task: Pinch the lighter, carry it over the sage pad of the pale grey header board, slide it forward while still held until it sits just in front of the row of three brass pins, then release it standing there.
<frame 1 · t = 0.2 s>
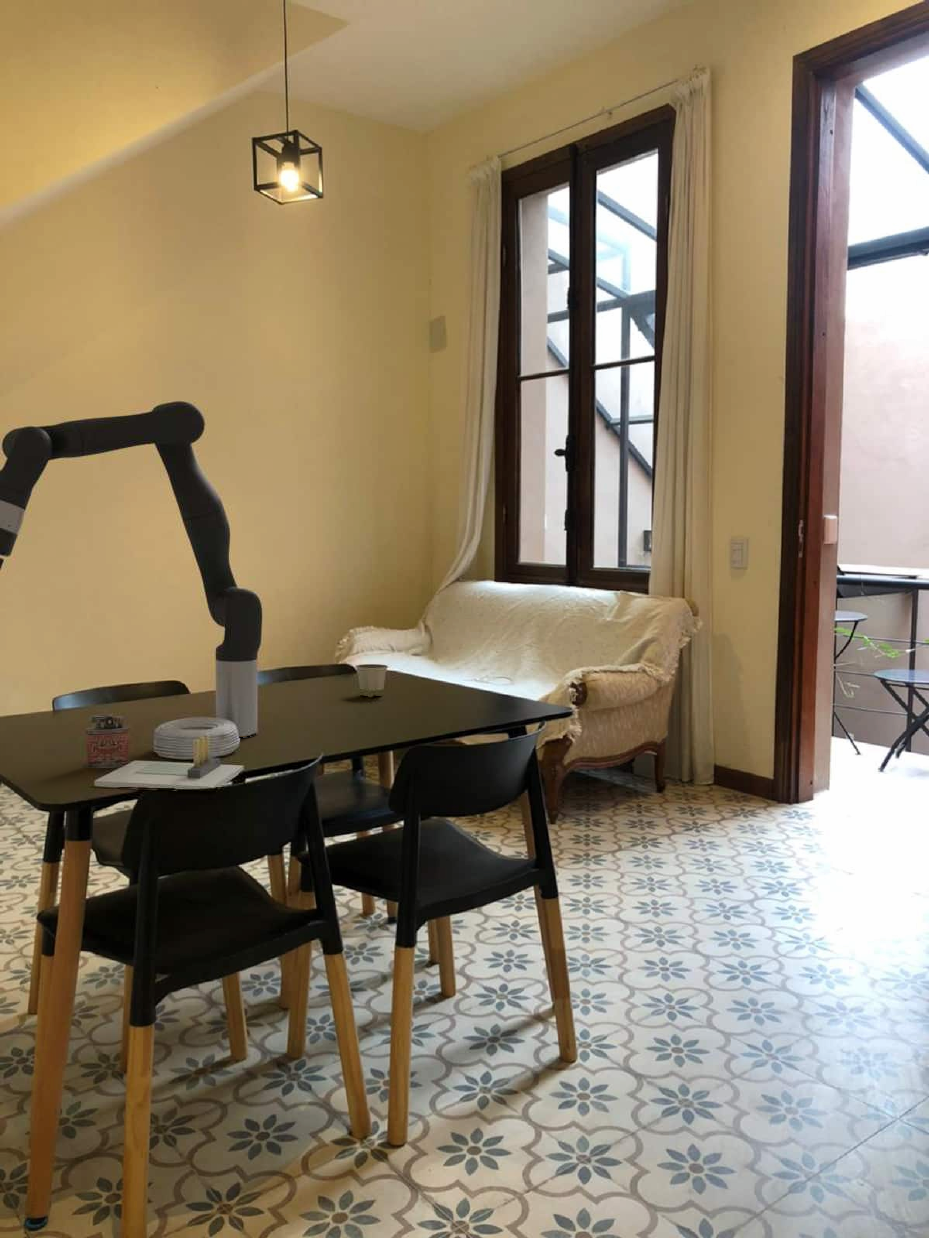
cable: (197, 753, 203), on the table
header board: (171, 778, 181), on the table
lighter: (108, 766, 189), on the table
flower pot: (371, 696, 276), on the table
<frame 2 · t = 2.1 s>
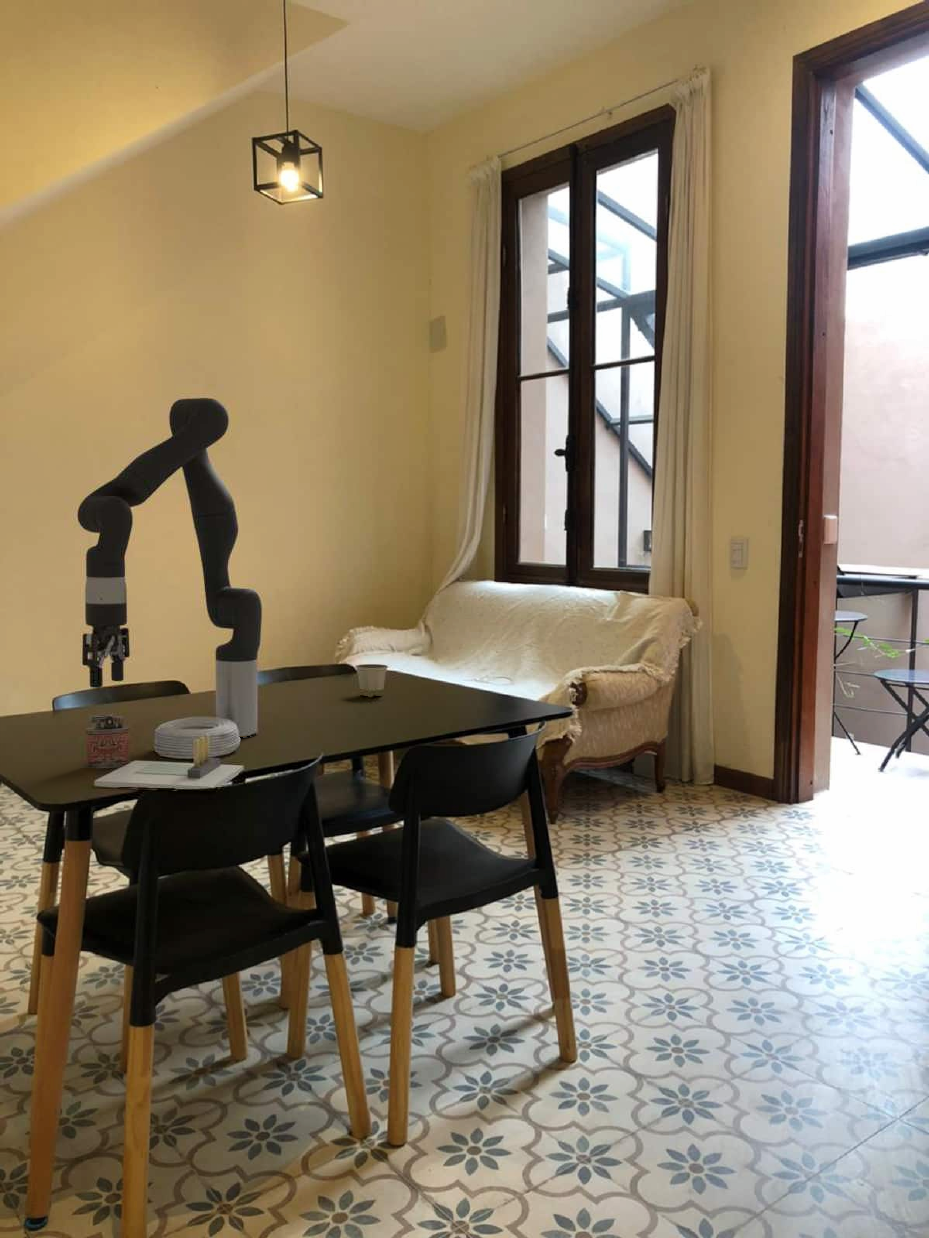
hand: (107, 684, 188), 16 cm above the table, tool pointing down, fingers open, 8 cm apart
nothing on the table moved.
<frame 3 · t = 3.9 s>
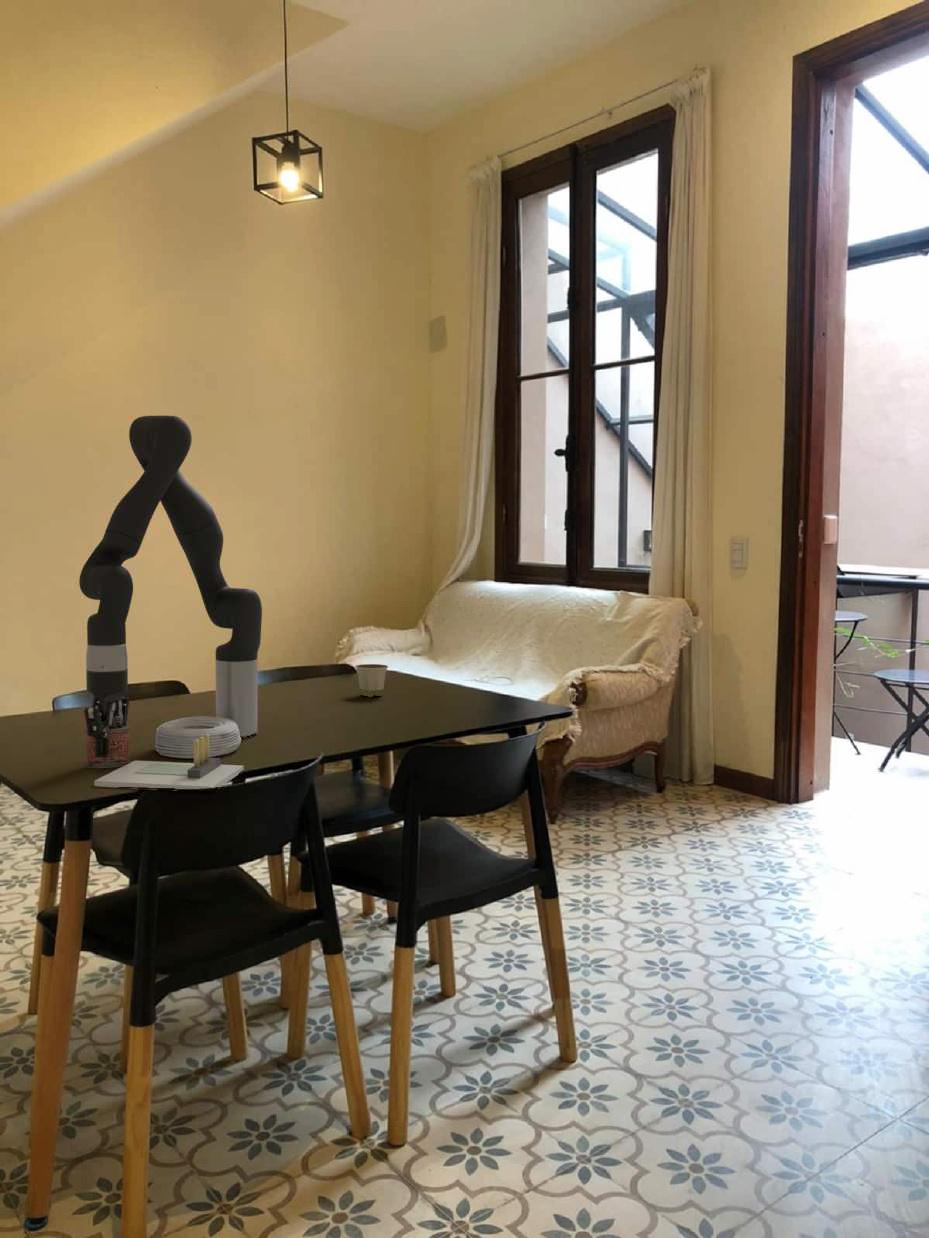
hand: (108, 753, 189), 2 cm above the table, tool pointing down, fingers closed on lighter, 4 cm apart
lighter: (108, 766, 189), on the table, touching gripper
everything else where it was.
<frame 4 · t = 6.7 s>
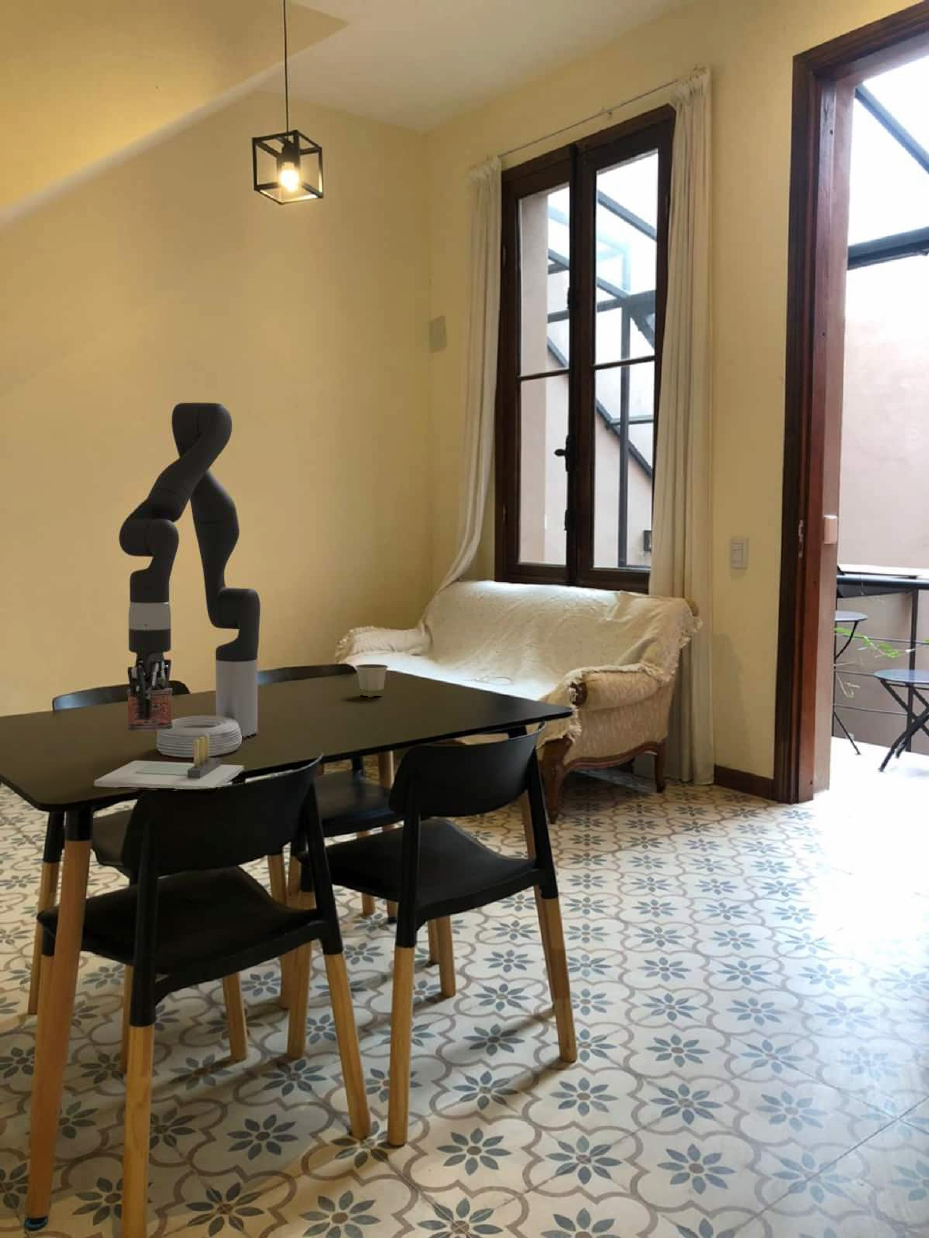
hand: (150, 716, 182), 11 cm above the table, tool pointing down, fingers closed on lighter, 4 cm apart
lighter: (150, 729, 182), point 9 cm above the table, touching gripper
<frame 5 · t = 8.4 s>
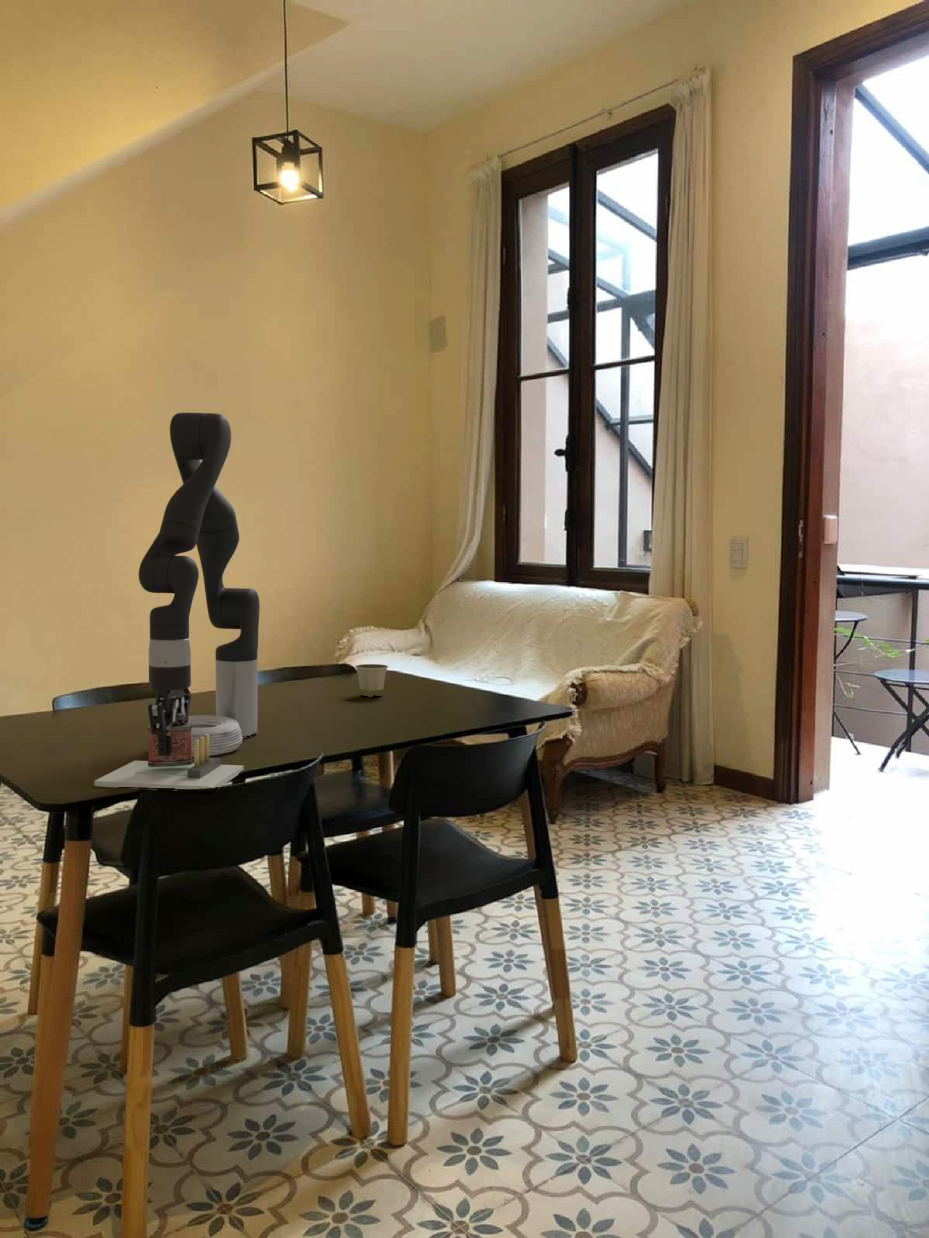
hand: (170, 752, 182), 4 cm above the table, tool pointing down, fingers closed on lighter, 4 cm apart
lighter: (170, 765, 183), point 2 cm above the table, touching gripper
when the fingers open (4 cm above the table, at t = 9.6 s): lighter stays where it is, resting on header board.
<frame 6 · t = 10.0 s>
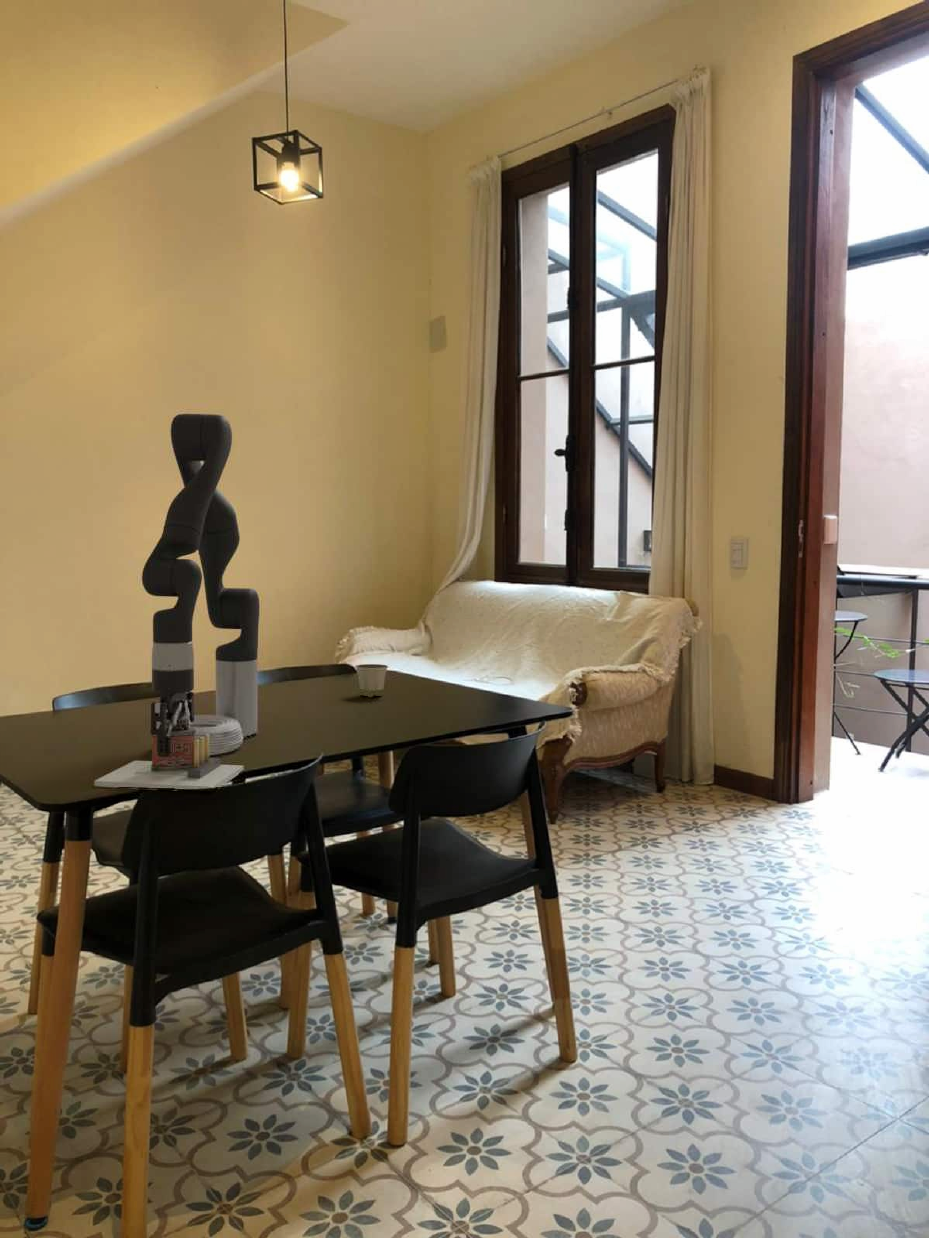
hand: (173, 751, 182), 5 cm above the table, tool pointing down, fingers open, 8 cm apart
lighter: (173, 770, 183), point 1 cm above the table, touching header board
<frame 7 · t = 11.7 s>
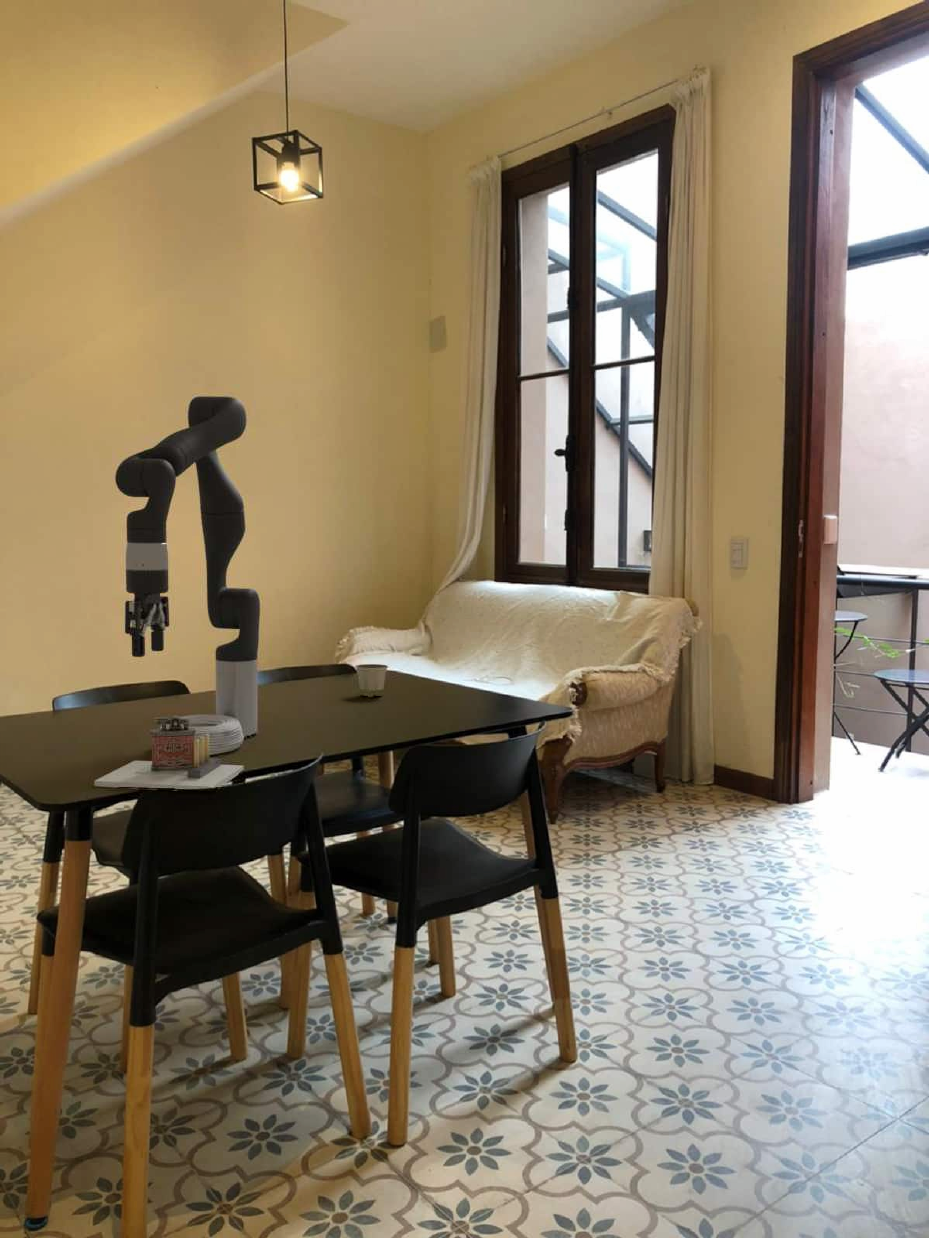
hand: (148, 653, 182), 23 cm above the table, tool pointing down, fingers open, 8 cm apart
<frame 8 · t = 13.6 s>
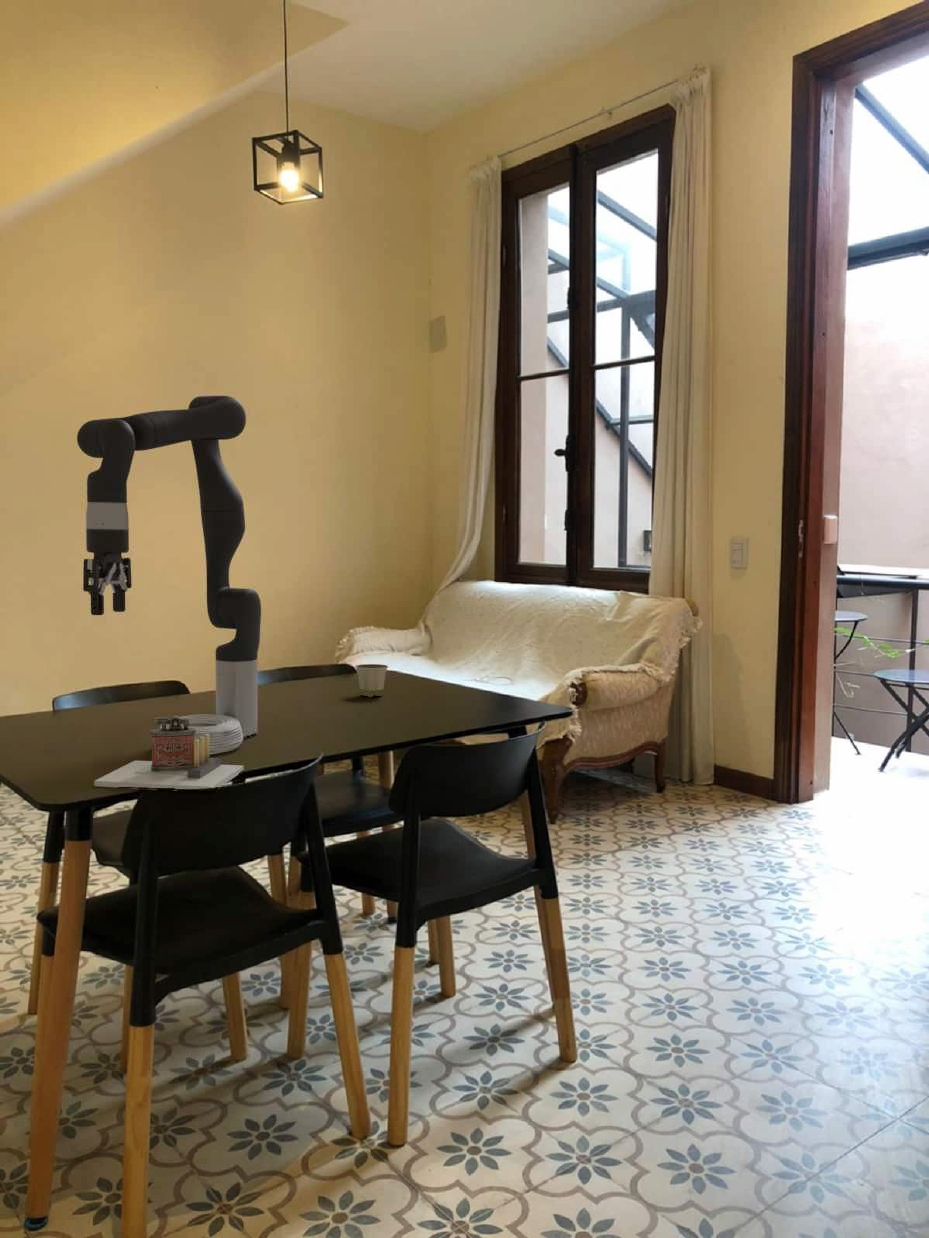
hand: (108, 613, 184), 30 cm above the table, tool pointing down, fingers open, 8 cm apart
at the end: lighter inside the target area (1.1 cm from its centre), point 1.0 cm above the table; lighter tilted 0° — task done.
